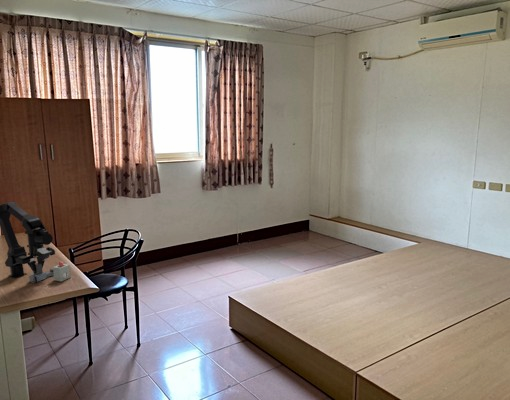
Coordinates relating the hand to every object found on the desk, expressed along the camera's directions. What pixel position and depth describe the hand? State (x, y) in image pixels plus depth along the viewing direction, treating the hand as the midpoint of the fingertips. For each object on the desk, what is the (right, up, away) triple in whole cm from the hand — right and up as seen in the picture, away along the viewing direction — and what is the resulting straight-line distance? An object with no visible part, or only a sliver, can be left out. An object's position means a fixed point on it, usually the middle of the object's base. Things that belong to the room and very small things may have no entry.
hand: (37, 271), depth 223 cm
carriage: (0, -4, +1) cm, 4 cm away
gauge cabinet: (+12, -4, +1) cm, 13 cm away
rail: (+1, -4, +3) cm, 5 cm away
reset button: (+12, +1, 0) cm, 12 cm away
